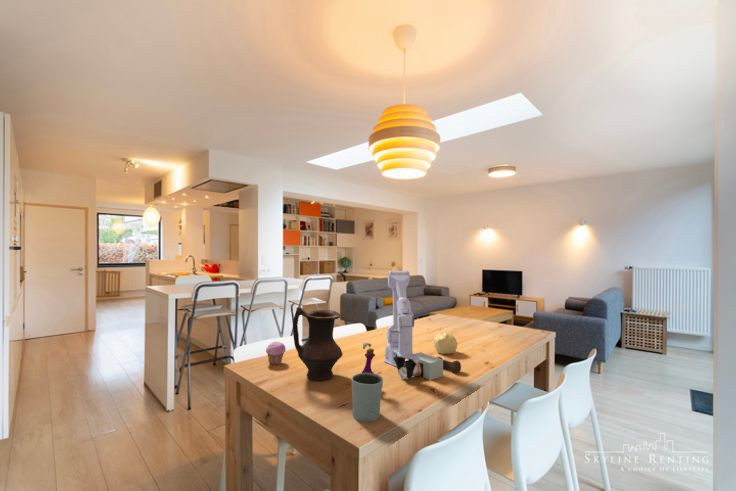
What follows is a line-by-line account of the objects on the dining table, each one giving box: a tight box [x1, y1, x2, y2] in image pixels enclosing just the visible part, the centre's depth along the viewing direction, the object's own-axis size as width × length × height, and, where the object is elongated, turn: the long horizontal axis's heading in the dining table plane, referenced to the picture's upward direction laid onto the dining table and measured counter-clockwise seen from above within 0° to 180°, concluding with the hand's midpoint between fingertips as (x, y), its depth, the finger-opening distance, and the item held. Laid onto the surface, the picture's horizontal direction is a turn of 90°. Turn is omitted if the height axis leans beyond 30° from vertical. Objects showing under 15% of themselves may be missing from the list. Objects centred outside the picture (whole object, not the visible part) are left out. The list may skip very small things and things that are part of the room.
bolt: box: [436, 356, 462, 374], centre depth 153 cm, size 6×5×15 cm
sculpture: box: [433, 331, 458, 355], centre depth 177 cm, size 12×12×11 cm
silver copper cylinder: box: [398, 363, 423, 380], centre depth 142 cm, size 6×14×6 cm, turn 127°
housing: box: [413, 351, 444, 381], centre depth 146 cm, size 13×8×7 cm, turn 37°
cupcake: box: [265, 341, 286, 365], centre depth 157 cm, size 9×9×10 cm
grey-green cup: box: [351, 372, 384, 423], centre depth 108 cm, size 10×10×12 cm
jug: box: [292, 305, 344, 382], centre depth 141 cm, size 21×18×30 cm
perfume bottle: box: [361, 342, 376, 374], centre depth 128 cm, size 8×8×18 cm
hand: (405, 375), depth 139 cm, fingers closed on silver copper cylinder, 5 cm apart
